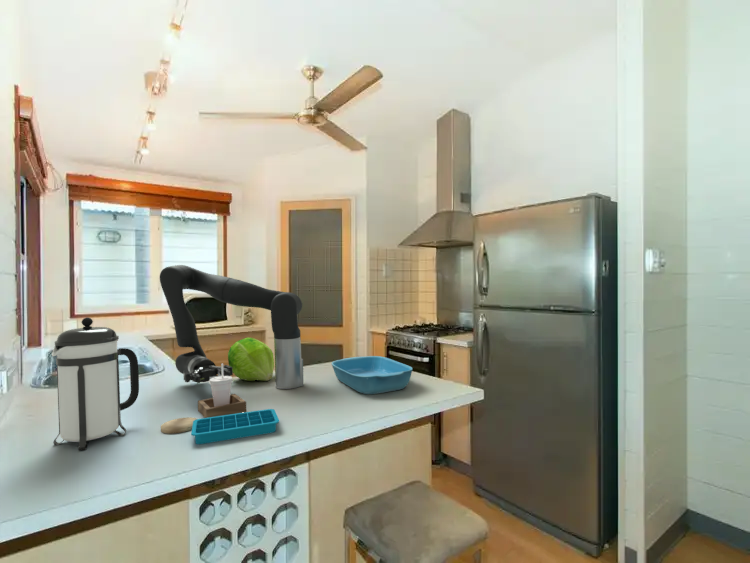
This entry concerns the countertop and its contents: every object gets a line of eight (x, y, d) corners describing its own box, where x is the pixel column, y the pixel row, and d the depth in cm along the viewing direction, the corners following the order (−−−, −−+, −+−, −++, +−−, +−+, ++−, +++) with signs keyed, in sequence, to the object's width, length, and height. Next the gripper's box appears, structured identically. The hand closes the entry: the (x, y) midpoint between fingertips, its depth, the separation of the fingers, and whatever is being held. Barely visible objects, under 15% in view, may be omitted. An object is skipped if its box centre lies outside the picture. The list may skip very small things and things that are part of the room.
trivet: (198, 418, 113) (198, 415, 113) (199, 429, 105) (199, 425, 105) (161, 424, 109) (161, 421, 109) (160, 436, 101) (160, 432, 101)
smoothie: (225, 415, 115) (224, 366, 115) (205, 414, 116) (203, 365, 116) (237, 408, 121) (236, 361, 121) (218, 407, 123) (216, 361, 123)
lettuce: (242, 392, 144) (269, 356, 145) (209, 359, 152) (234, 325, 154) (268, 395, 159) (292, 362, 161) (237, 365, 168) (260, 334, 169)
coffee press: (121, 446, 95) (116, 318, 95) (39, 456, 91) (35, 322, 91) (140, 421, 112) (137, 312, 112) (72, 429, 108) (68, 315, 107)
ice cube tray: (194, 431, 105) (193, 419, 105) (274, 419, 112) (273, 408, 112) (191, 448, 94) (190, 435, 94) (280, 433, 101) (279, 421, 101)
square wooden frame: (198, 410, 120) (197, 400, 120) (235, 403, 126) (234, 393, 126) (207, 420, 111) (206, 409, 111) (246, 412, 118) (246, 401, 118)
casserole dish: (324, 377, 158) (324, 358, 158) (376, 370, 168) (376, 352, 168) (362, 402, 125) (361, 378, 125) (424, 391, 134) (423, 370, 134)
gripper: (178, 360, 134) (188, 368, 121) (222, 354, 143) (236, 361, 129) (179, 383, 134) (189, 393, 121) (223, 376, 143) (237, 385, 129)
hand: (213, 377), depth 125 cm, fingers open, 8 cm apart
